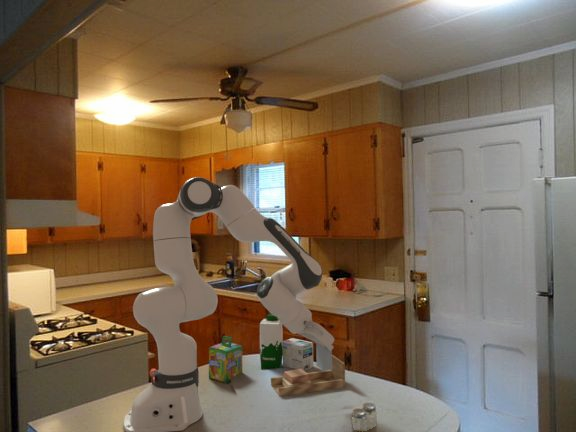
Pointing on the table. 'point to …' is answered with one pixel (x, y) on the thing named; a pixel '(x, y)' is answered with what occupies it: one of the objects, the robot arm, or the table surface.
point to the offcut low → (286, 384)
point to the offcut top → (296, 376)
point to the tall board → (323, 357)
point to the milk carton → (271, 342)
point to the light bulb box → (297, 354)
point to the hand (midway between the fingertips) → (325, 345)
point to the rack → (315, 380)
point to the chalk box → (225, 360)
